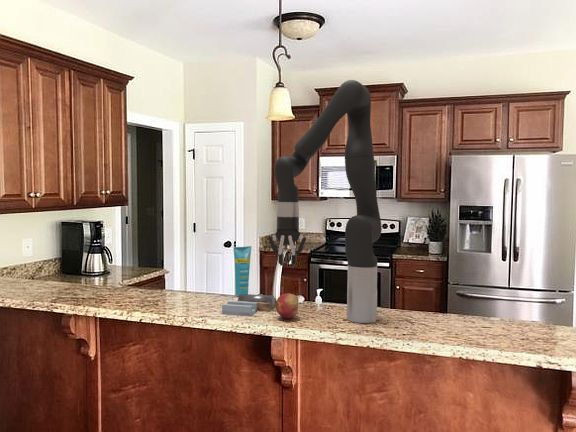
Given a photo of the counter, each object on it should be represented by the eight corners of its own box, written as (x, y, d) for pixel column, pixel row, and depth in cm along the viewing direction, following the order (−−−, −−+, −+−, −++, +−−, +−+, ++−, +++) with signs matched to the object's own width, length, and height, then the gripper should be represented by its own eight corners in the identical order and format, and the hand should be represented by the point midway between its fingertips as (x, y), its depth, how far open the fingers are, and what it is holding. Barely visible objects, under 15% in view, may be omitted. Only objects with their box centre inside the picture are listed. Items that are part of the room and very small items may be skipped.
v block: (256, 311, 158) (257, 302, 158) (251, 316, 152) (251, 306, 152) (228, 309, 160) (228, 300, 160) (221, 313, 154) (221, 304, 154)
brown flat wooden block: (276, 305, 167) (276, 298, 167) (269, 311, 158) (269, 303, 158) (244, 303, 170) (244, 296, 170) (235, 308, 161) (235, 301, 161)
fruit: (291, 323, 144) (291, 297, 144) (270, 319, 148) (270, 294, 148) (303, 317, 151) (304, 292, 150) (283, 314, 155) (283, 290, 154)
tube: (236, 297, 179) (236, 247, 178) (230, 295, 183) (230, 246, 182) (253, 295, 183) (253, 246, 183) (247, 293, 187) (247, 245, 187)
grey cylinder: (274, 307, 165) (274, 294, 165) (271, 310, 161) (271, 297, 160) (242, 305, 168) (242, 292, 168) (237, 307, 163) (238, 295, 163)
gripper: (310, 215, 162) (309, 265, 163) (270, 214, 166) (270, 263, 166) (306, 216, 155) (305, 268, 156) (265, 215, 158) (264, 266, 159)
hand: (287, 265), depth 161 cm, fingers open, 3 cm apart
